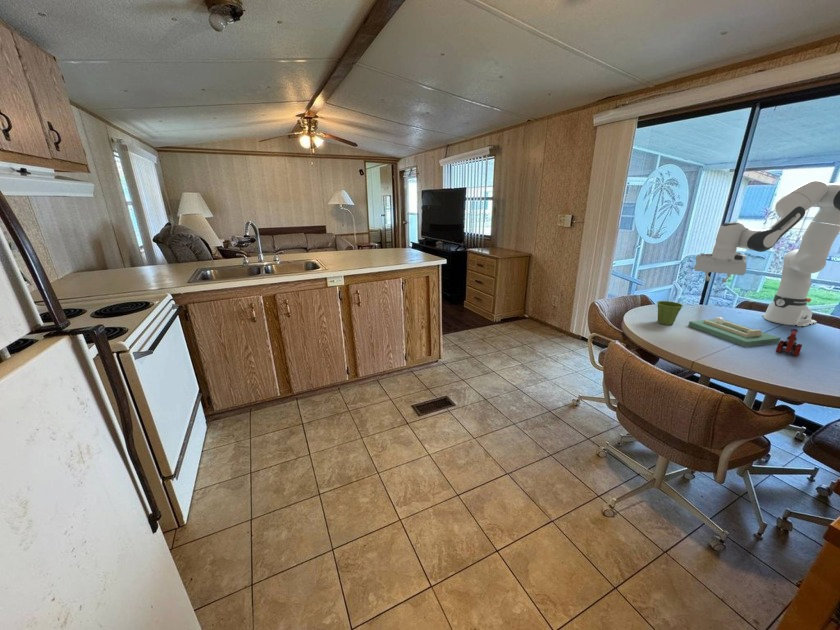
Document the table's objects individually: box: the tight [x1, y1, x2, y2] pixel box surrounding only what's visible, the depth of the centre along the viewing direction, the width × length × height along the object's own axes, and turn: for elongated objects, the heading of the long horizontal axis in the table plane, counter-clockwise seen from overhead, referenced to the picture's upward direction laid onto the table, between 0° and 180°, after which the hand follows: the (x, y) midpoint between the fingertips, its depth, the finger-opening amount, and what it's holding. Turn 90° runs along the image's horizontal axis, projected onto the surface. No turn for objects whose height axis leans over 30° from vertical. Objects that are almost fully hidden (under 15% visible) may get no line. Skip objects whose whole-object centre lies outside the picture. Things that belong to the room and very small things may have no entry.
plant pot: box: [656, 300, 684, 326], centre depth 183 cm, size 12×12×11 cm
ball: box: [713, 316, 725, 325], centre depth 174 cm, size 4×4×4 cm
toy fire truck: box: [775, 328, 803, 357], centre depth 147 cm, size 7×12×10 cm, turn 129°
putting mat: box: [687, 318, 781, 348], centre depth 168 cm, size 28×20×6 cm
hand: (715, 281), depth 174 cm, fingers open, 5 cm apart
